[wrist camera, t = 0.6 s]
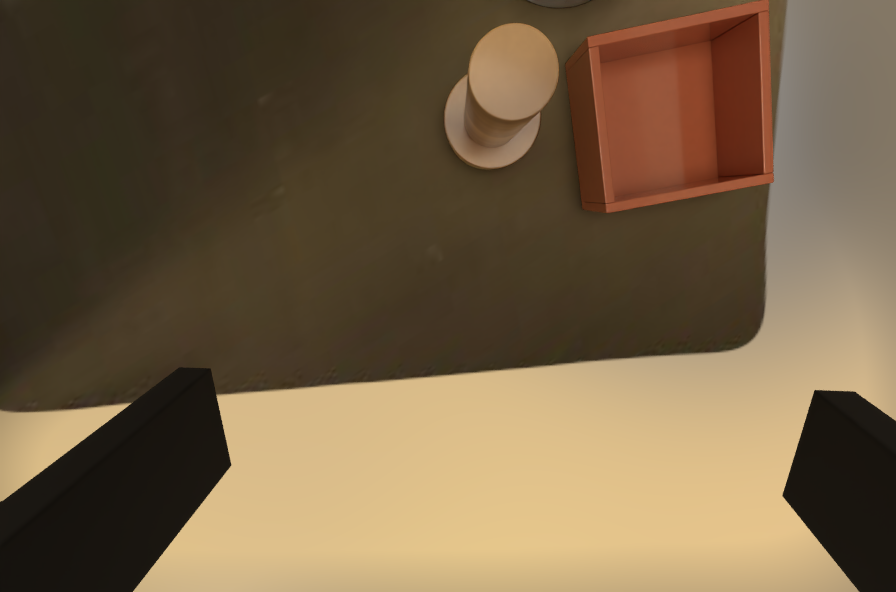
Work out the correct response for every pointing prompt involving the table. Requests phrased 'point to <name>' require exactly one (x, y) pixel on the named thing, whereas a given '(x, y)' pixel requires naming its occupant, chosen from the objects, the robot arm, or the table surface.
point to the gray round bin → (559, 3)
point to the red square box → (673, 109)
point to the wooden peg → (501, 97)
